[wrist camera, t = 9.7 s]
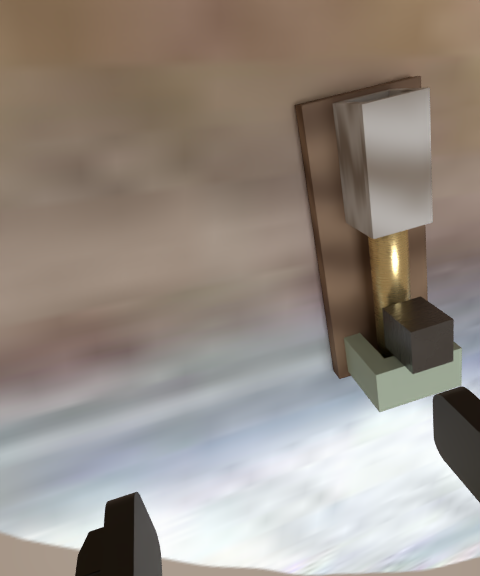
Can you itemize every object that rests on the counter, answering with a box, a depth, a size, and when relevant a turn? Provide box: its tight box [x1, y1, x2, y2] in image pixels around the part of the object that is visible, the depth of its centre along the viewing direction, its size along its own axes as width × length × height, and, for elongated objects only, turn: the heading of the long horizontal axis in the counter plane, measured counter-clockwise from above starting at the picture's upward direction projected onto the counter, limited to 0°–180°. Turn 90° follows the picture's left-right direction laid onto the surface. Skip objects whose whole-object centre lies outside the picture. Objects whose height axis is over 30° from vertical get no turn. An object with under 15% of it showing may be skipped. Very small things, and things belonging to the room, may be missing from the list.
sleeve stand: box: [295, 76, 433, 379], centre depth 38 cm, size 26×10×6 cm, turn 12°
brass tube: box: [368, 230, 453, 374], centre depth 37 cm, size 17×4×8 cm, turn 12°
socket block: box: [344, 333, 462, 412], centre depth 42 cm, size 4×8×6 cm, turn 102°
